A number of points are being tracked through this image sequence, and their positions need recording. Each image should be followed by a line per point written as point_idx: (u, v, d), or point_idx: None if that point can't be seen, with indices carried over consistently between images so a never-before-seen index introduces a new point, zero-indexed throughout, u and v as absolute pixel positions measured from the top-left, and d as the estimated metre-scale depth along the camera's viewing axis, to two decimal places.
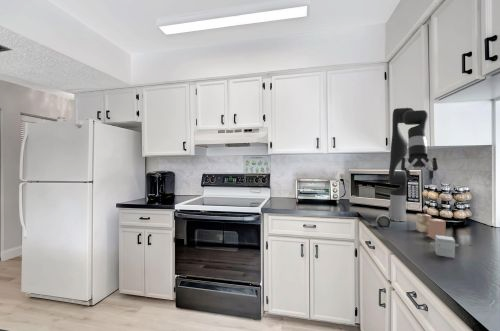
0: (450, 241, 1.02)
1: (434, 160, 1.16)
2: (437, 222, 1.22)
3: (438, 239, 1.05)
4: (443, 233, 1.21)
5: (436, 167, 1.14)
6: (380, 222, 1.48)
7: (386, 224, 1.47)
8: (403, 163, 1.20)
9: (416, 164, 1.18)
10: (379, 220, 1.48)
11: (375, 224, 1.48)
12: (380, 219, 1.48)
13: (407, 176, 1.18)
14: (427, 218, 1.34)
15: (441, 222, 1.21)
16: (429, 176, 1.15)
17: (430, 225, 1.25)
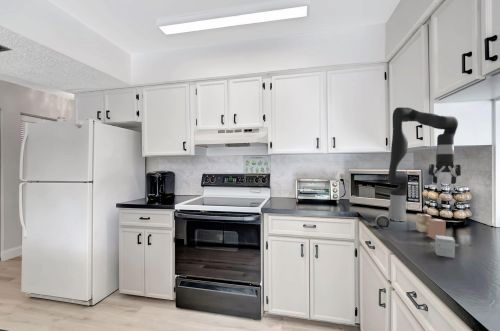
0: (450, 241, 1.02)
1: (458, 167, 1.32)
2: (437, 222, 1.22)
3: (438, 239, 1.05)
4: (443, 233, 1.21)
5: (459, 173, 1.32)
6: (379, 222, 1.48)
7: (385, 224, 1.47)
8: (432, 169, 1.34)
9: (443, 170, 1.33)
10: (378, 220, 1.49)
11: (374, 224, 1.49)
12: (379, 219, 1.48)
13: (434, 181, 1.34)
14: (427, 218, 1.34)
15: (441, 222, 1.21)
16: (452, 181, 1.33)
17: (430, 225, 1.25)
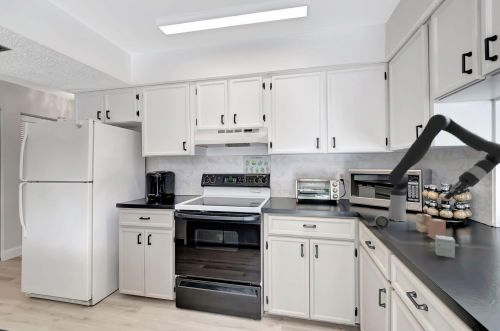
0: (450, 241, 1.02)
1: None
2: (437, 222, 1.22)
3: (438, 239, 1.05)
4: (443, 233, 1.21)
5: None
6: (378, 222, 1.48)
7: (384, 224, 1.47)
8: None
9: None
10: (377, 220, 1.49)
11: (373, 224, 1.49)
12: (378, 219, 1.48)
13: (449, 198, 1.33)
14: (427, 218, 1.34)
15: (441, 222, 1.21)
16: None
17: (430, 225, 1.25)
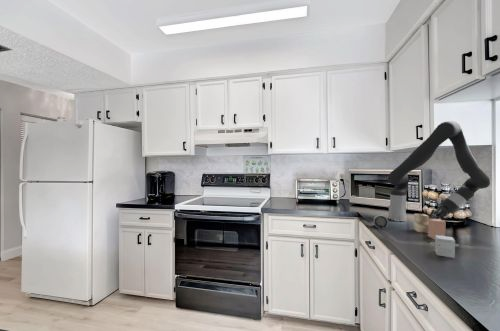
0: (450, 241, 1.02)
1: None
2: (437, 222, 1.22)
3: (438, 239, 1.05)
4: (443, 233, 1.21)
5: None
6: (377, 222, 1.49)
7: (383, 224, 1.47)
8: None
9: None
10: (376, 220, 1.49)
11: (372, 224, 1.49)
12: (377, 219, 1.49)
13: None
14: (425, 218, 1.34)
15: (441, 222, 1.21)
16: None
17: (430, 225, 1.25)
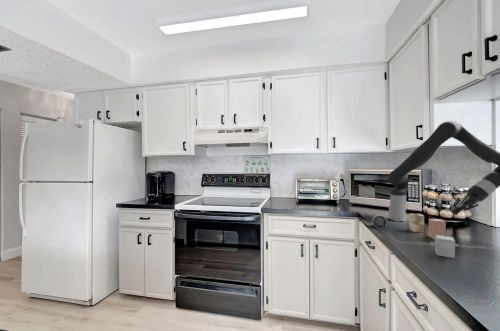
0: (450, 241, 1.02)
1: None
2: (437, 222, 1.22)
3: (438, 239, 1.05)
4: (443, 233, 1.21)
5: None
6: (376, 222, 1.49)
7: (382, 224, 1.48)
8: None
9: None
10: (375, 220, 1.49)
11: (371, 224, 1.49)
12: (376, 219, 1.49)
13: (457, 213, 1.26)
14: (420, 217, 1.34)
15: (441, 222, 1.21)
16: None
17: (430, 225, 1.25)
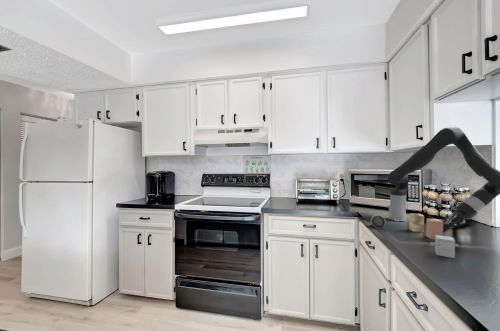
0: (450, 241, 1.02)
1: None
2: (435, 222, 1.22)
3: (438, 239, 1.05)
4: (441, 233, 1.22)
5: None
6: (375, 221, 1.49)
7: (381, 223, 1.48)
8: None
9: None
10: (374, 219, 1.50)
11: (370, 223, 1.50)
12: (375, 218, 1.49)
13: None
14: (420, 217, 1.34)
15: (439, 222, 1.22)
16: None
17: (428, 224, 1.25)
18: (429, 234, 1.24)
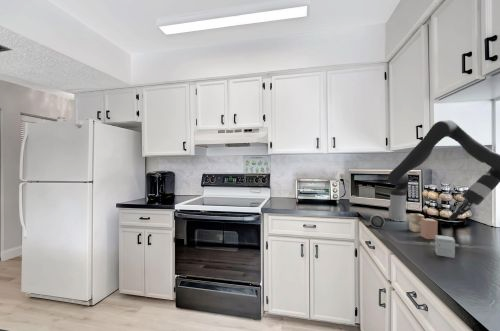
0: (450, 241, 1.02)
1: None
2: (429, 222, 1.22)
3: (438, 239, 1.05)
4: (435, 233, 1.22)
5: None
6: (374, 221, 1.49)
7: (380, 223, 1.48)
8: None
9: None
10: (373, 219, 1.50)
11: (369, 223, 1.50)
12: (374, 218, 1.49)
13: (453, 219, 1.25)
14: (420, 217, 1.34)
15: (433, 222, 1.22)
16: None
17: (422, 224, 1.26)
18: (424, 234, 1.25)
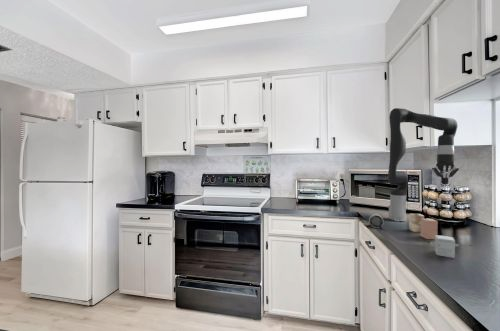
0: (450, 241, 1.02)
1: (456, 170, 1.38)
2: (429, 222, 1.22)
3: (438, 239, 1.05)
4: (435, 233, 1.22)
5: (451, 175, 1.38)
6: (373, 221, 1.50)
7: (378, 223, 1.48)
8: (438, 172, 1.39)
9: (446, 169, 1.38)
10: (372, 219, 1.50)
11: (368, 223, 1.50)
12: (373, 218, 1.50)
13: (443, 183, 1.39)
14: (420, 217, 1.34)
15: (433, 222, 1.22)
16: None
17: (422, 224, 1.26)
18: (424, 234, 1.25)
